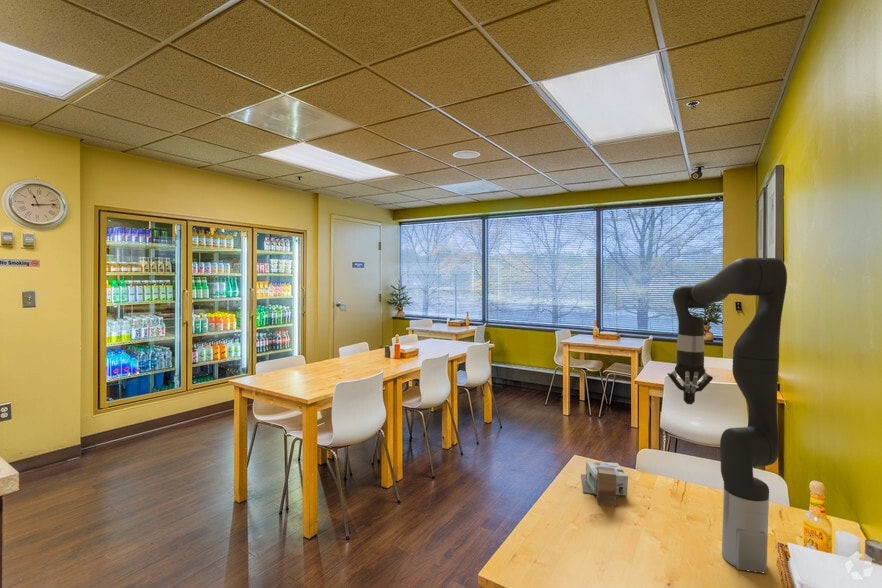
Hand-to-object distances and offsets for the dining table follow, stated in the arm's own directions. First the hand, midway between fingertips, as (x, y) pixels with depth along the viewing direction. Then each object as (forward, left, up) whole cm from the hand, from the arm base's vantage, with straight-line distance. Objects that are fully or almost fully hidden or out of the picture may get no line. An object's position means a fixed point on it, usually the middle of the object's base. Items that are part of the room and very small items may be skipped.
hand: (689, 403), depth 139 cm
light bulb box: (+2, +19, -27) cm, 33 cm away
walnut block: (-8, +25, -31) cm, 41 cm away
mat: (+3, +26, -31) cm, 41 cm away
